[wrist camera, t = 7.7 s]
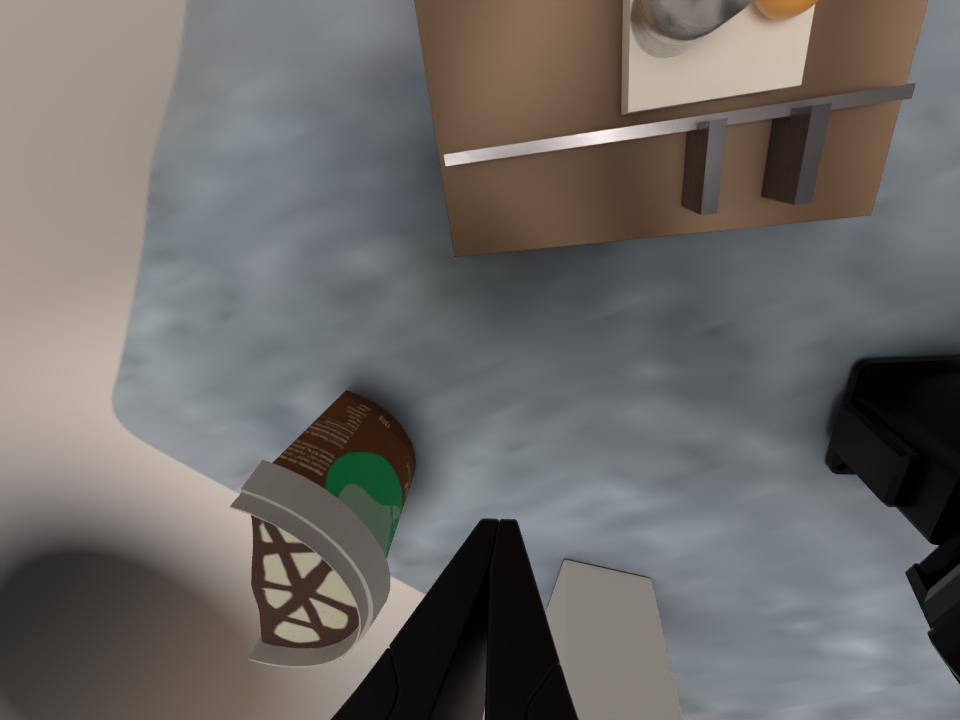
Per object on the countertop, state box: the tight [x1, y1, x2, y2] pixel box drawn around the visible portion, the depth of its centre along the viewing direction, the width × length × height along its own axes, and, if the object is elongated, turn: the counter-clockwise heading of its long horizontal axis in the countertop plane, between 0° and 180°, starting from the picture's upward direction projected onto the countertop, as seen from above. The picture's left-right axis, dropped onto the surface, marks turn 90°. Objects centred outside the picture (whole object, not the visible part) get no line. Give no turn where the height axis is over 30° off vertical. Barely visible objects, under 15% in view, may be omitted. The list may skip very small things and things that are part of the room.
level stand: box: [414, 0, 928, 257], centre depth 14 cm, size 16×14×4 cm
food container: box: [230, 391, 416, 668], centre depth 23 cm, size 12×6×10 cm, turn 168°
